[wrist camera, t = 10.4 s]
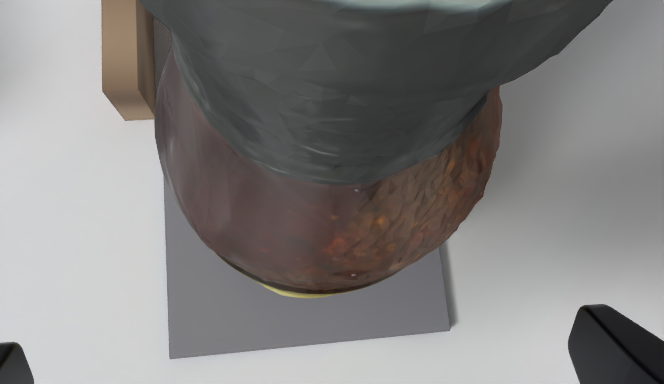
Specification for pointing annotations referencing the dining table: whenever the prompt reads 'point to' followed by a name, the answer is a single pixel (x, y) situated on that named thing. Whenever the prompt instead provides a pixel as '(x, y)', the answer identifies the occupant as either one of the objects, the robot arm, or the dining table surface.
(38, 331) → the dining table surface
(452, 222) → the sauce bottle
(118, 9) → the bottle holder
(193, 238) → the rubber mat
